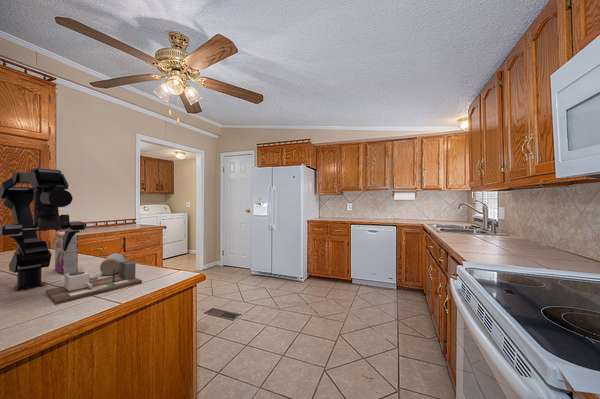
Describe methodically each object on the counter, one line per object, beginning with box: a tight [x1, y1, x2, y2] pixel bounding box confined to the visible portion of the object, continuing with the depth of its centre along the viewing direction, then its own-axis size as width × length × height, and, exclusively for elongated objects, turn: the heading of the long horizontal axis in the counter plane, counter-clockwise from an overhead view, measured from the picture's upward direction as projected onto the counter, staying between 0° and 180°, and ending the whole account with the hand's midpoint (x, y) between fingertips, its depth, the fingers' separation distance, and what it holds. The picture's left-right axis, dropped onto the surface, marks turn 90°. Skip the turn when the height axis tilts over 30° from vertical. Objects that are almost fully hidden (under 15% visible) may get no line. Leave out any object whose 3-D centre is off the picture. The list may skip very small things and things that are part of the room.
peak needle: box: [112, 269, 116, 283], centre depth 85 cm, size 1×1×5 cm, turn 55°
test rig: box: [45, 259, 143, 305], centre depth 85 cm, size 14×23×7 cm, turn 145°
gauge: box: [63, 270, 99, 291], centre depth 82 cm, size 10×8×5 cm
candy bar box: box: [54, 231, 79, 276], centre depth 103 cm, size 11×5×16 cm, turn 58°
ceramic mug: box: [99, 252, 127, 276], centre depth 102 cm, size 11×8×8 cm
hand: (45, 253), depth 80 cm, fingers open, 9 cm apart
